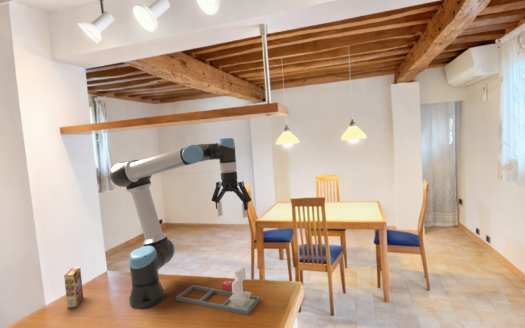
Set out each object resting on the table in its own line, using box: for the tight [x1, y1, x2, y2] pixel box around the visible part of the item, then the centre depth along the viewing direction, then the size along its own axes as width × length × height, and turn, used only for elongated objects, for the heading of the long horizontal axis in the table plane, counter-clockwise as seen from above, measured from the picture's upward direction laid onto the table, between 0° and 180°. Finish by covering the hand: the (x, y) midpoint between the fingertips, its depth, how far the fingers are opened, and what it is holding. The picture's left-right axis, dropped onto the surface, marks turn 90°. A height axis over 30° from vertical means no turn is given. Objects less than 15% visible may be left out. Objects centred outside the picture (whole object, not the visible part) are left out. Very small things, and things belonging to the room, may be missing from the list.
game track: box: [175, 284, 262, 316], centre depth 138 cm, size 37×12×2 cm, turn 64°
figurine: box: [229, 266, 252, 307], centre depth 133 cm, size 7×9×15 cm
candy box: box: [63, 266, 84, 309], centre depth 145 cm, size 9×4×15 cm, turn 12°
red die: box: [221, 279, 234, 292], centre depth 146 cm, size 4×4×4 cm
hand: (232, 216), depth 146 cm, fingers open, 13 cm apart
